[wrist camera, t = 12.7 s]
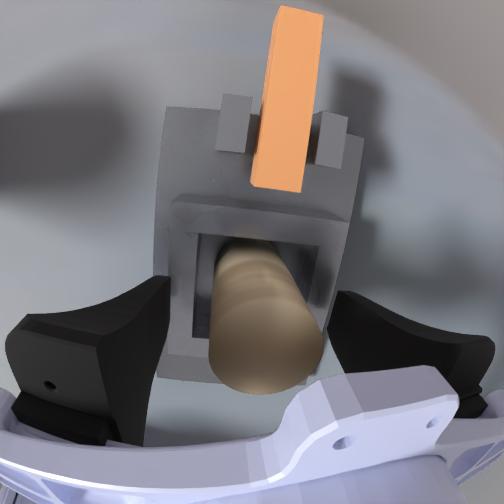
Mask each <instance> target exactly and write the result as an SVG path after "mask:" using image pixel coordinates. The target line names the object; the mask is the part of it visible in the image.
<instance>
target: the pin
mask: <svg viewBox="0 0 504 504" xmlns="http://www.w3.org/2000/svg"><path fill="white" fill-rule="evenodd" d="M323 17H324V15H320V14H316V13H312V12H308V11H304V10H300V9H296V8H291V7H286V6H280V9H279V11H278V13H277V16H276V18H275V20H274V24H273V30H272V37H271V43H270V50H269V56H268V63H267V69H266V76H265V83H264V89H263V96H262V103H261V110H260V116H259V123H258V130H257V137H256V144H255V151H254V158H253V165H252V173H251V180H250V182H251V184H252V185H253V186H254V187H262V188H270V189H277V190H284V191H291V192H297V193H301V187H302V181H303V174H304V168H305V162H306V155H307V148H308V141H309V135H310V127H311V120H312V113H313V105H314V98H315V90H316V82H317V74H318V65H319V56H320V47H321V37H322V27H323Z"/></svg>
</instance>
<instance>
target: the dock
mask: <svg viewBox="0 0 504 504" xmlns="http://www.w3.org/2000/svg"><path fill="white" fill-rule="evenodd" d="M252 99H253V97H247V96H240V95H231V94H223V99H222V105H221V111H220V110H210V109H198V108H183V107H166V113H165V120H164V127H163V135H162V143H161V151H160V160H159V170H158V181H157V193H156V208H155V226H154V252H153V276H155V275H162V276H171V302H170V324H169V329H168V334H167V338H166V341H165V344H164V347H163V350H162V353H161V356H160V359H159V362H158V365H157V368H156V372H157V377H160V378H167V379H175V380H184V381H194V382H205V383H219V384H224V383H223V382H221V381H220V380H219V379H218V378H217V377H216V375H215V374H214V372H213V371H212V369H211V366H210V363H209V357H208V350H209V333H210V317H211V303H212V289H213V276H214V265H215V260H216V258H217V256H218V254H219V252H220V251H221V250H222V248H223V247H224V246H225V245H227V244H228V243H229V242H231V241H233V240H235V239H237V238H241V237H243V238H253V239H262V240H266V241H268V242H270V243H271V244H272V245H273V246H274V247H275V248H276V249H277V250H278V252H279V253H280V255H281V257H282V259H283V261H284V262H285V264H286V266H287V268H288V270H289V272H290V274H291V275H292V277H293V279H294V281H295V283H296V285H297V287H298V288H299V290H300V292H301V294H302V296H303V298H304V300H305V302H306V304H307V305H308V307H309V309H310V311H311V313H312V315H313V317H314V319H315V321H316V323H317V324H318V326H319V328H320V330H321V333H322V331H323V328H324V324H325V321H326V318H327V314H328V310H329V307H330V303H331V300H332V296H333V292H334V288H335V285H336V281H337V277H338V273H339V269H340V265H341V261H342V256H343V252H344V248H345V243H346V239H347V234H348V230H349V225H350V220H351V215H352V210H353V205H354V200H355V195H356V189H357V184H358V178H359V172H360V166H361V160H362V153H363V146H364V139H365V138H363V137H359V136H355V135H351V134H348V133H346V131H347V123H348V117H346V116H342V115H338V114H334V113H330V112H326V111H321V112H318V113H316V114H313V115H312V120H311V127H310V135H309V141H308V148H307V155H306V162H305V168H304V174H303V181H302V187H301V193H297V192H291V191H284V190H277V189H270V188H262V187H254V186H253V185H252V184H251V182H250V180H251V173H252V165H253V158H254V151H255V144H256V137H257V130H258V123H259V115H252V114H250V112H251V105H252ZM307 378H308V377H307ZM307 378H306V379H305V380H303V381H302V382H301V383H299V384H297V385H305V384H306V381H307Z"/></svg>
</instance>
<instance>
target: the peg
mask: <svg viewBox="0 0 504 504" xmlns="http://www.w3.org/2000/svg"><path fill="white" fill-rule="evenodd" d="M323 348H324V341H323V336H322V333H321V330H320V328H319V326H318V324H317V323H316V321H315V319H314V317H313V315H312V313H311V311H310V309H309V307H308V305H307V304H306V302H305V300H304V298H303V296H302V294H301V292H300V290H299V288H298V287H297V285H296V283H295V281H294V279H293V277H292V275H291V274H290V272H289V270H288V268H287V266H286V264H285V262H284V261H283V259H282V257H281V255H280V253H279V252H278V250H277V249H276V248H275V247H274V246H273V245H272V244H271V243H270V242H268V241H266V240H262V239H253V238H243V237H241V238H237V239H235V240H233V241H231V242H229V243H228V244H227V245H225V246H224V247H223V248H222V250H221V251H220V252H219V254H218V256H217V258H216V260H215V265H214V276H213V289H212V303H211V317H210V333H209V350H208V357H209V363H210V366H211V369H212V371H213V372H214V374H215V375H216V377H217V378H218V379H219V380H220V381H221V382H223V383H224V384H225V385H227V386H228V387H230V388H232V389H234V390H237V391H240V392H243V393H248V394H257V395H263V394H272V393H277V392H281V391H284V390H287V389H289V388H292V387H294V386H296V385H297V384H299V383H301V382H302V381H303V380H305V379H306V378H307V377H308V376H309V375H310V374H311V373H312V372H313V371H314V370H315V368H316V367H317V365H318V363H319V361H320V359H321V357H322V354H323Z"/></svg>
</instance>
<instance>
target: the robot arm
mask: <svg viewBox="0 0 504 504" xmlns="http://www.w3.org/2000/svg"><path fill="white" fill-rule="evenodd" d="M170 302H171V276H162V275H155V276H153V277H151V278H150V279H148V280H146V281H145V282H143V283H141V284H140V285H138V286H136V287H135V288H133V289H131V290H129V291H127V292H125V293H123V294H121V295H119V296H117V297H115V298H113V299H111V300H108V301H105V302H103V303H100V304H97V305H94V306H90V307H86V308H82V309H78V310H73V311H67V312H59V313H46V314H27V315H26V316H25V317H24V318H23V319H22V320H21V321H20V322H19V323H18V324H17V326H16V327H15V328H14V329H13V330H12V331H11V332H10V333H9V334H8V335H7V338H6V341H5V351H6V355H7V359H8V362H9V364H10V367H11V369H12V372H13V374H14V376H15V379H16V381H17V383H18V385H19V388H20V390H21V392H20V394H19V396H18V397H17V399H16V397H15V396H14V395H13V394H11V393H10V392H9V391H7V390H5V389H3V388H0V483H2V484H3V486H2V489H1V492H0V504H468V503H467V501H466V499H465V497H464V496H463V494H462V492H461V490H460V489H459V487H458V486H459V485H461V484H463V483H464V482H466V481H467V480H469V479H470V478H472V477H473V476H475V475H476V474H478V473H479V472H480V471H482V470H483V469H485V468H486V467H488V466H489V465H491V464H492V463H493V462H495V461H496V460H497V459H498V458H499V457H500V456H501V455H502V454H503V453H504V391H503V390H502V389H498V390H496V391H494V392H492V393H489V394H488V395H486V396H485V397H484V398H482V397H481V396H480V393H481V392H482V388H481V387H480V385H479V383H480V381H481V380H482V378H483V376H484V375H485V373H486V371H487V370H488V368H489V366H490V364H491V362H492V360H493V357H494V354H495V344H494V342H493V341H492V340H491V339H490V338H489V337H487V336H481V335H469V334H460V333H454V332H449V331H444V330H440V329H437V328H433V327H429V326H426V325H423V324H420V323H418V322H415V321H412V320H410V319H408V318H405V317H403V316H401V315H399V314H397V313H394V312H392V311H390V310H388V309H386V308H384V307H383V306H381V305H379V304H377V303H375V302H373V301H371V300H369V299H367V298H365V297H363V296H361V295H359V294H357V293H354V292H351V291H338V292H337V296H336V300H335V303H334V307H333V310H332V314H331V317H330V321H329V324H328V327H327V331H328V335H329V339H330V342H331V345H332V347H333V350H334V352H335V354H336V356H337V358H338V360H339V362H340V364H341V366H342V368H343V370H344V372H345V374H340V375H336V376H332V377H328V378H324V379H319V380H318V381H316V382H314V383H313V384H311V385H310V386H308V387H306V388H305V389H303V390H301V391H300V392H298V393H297V395H296V396H295V397H294V399H293V400H292V401H291V403H290V404H289V405H288V407H287V408H286V410H285V413H284V416H283V419H282V422H281V424H280V426H279V428H278V430H277V431H275V432H273V433H270V434H265V435H260V436H255V437H249V438H243V439H237V440H230V441H223V442H216V443H207V444H197V445H185V446H169V447H143V440H144V431H145V423H146V416H147V409H148V402H149V397H150V391H151V386H152V382H153V378H154V374H155V371H156V368H157V365H158V362H159V359H160V356H161V353H162V350H163V347H164V344H165V341H166V338H167V334H168V329H169V324H170Z"/></svg>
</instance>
